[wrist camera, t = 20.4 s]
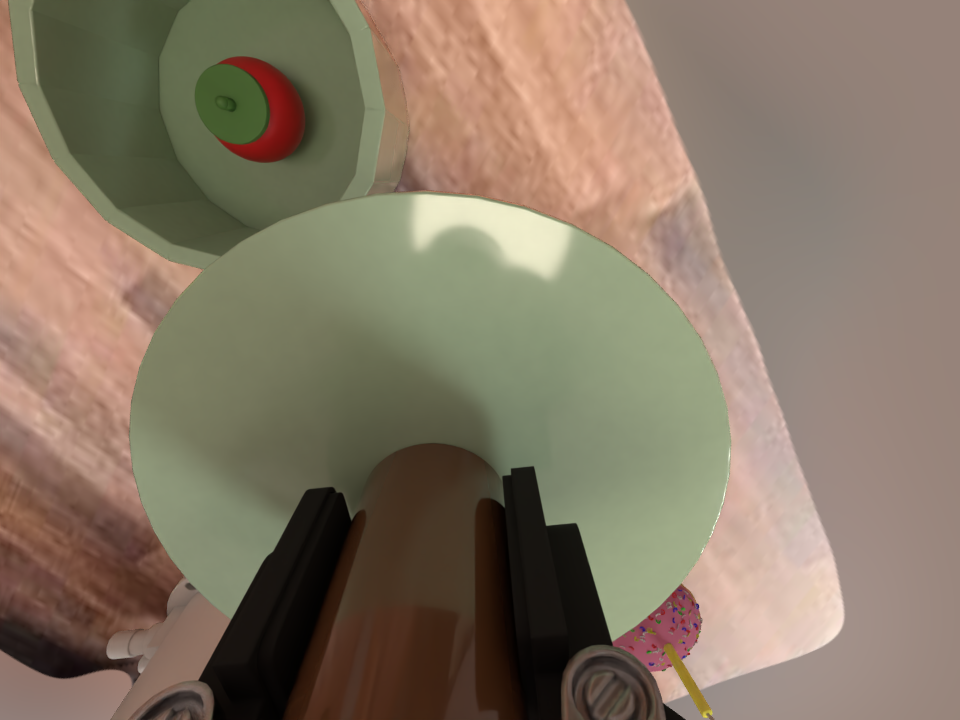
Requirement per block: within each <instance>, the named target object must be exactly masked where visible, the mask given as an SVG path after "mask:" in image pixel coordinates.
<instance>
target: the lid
mask: <svg viewBox="0 0 960 720" xmlns="http://www.w3.org/2000/svg"><path fill="white" fill-rule="evenodd" d="M129 441H130V451H131V461H132V470H133V474H134V477H135V481H136V485H137V489H138V492H139V496H140V500H141V503H142V505H143V507H144V510H145V512H146V514H147V517H148V519H149V521H150V523H151V526H152V528H153V530H154V532H155V534H156V535H157V537H158V539H159V540H160V542H161V544H162V545H163V547H164V549H165V550H166V552H167V554H168V555H169V557H170V558H171V560H172V561H173V562H174V564H175V565H176V566H177V567H178V569H179V570H180V571H181V572H182V574H183V575H184V576H185V577H186V579H187V580H188V581H189V582H190V584H192V585H193V586H194V587H195V588H196V589H197V590H198V591H199V592H200V593H201V594H202V595H203V596H204V597H205V598H206V599H207V600H208V601H209V602H210V603H211V604H212V605H213V606H214V607H215V608H216V609H218V610H219V611H220V612H222V613H223V614H224V615H225V616H227V617H228V618H229V619H230V620H231V619H232V617H233V616H234V614H235V612H236V610H237V608H238V606H239V605H240V603H241V601H242V599H243V597H244V595H245V594H246V592H247V590H248V588H249V586H250V584H251V583H252V581H253V579H254V577H255V575H256V574H257V572H258V570H259V568H260V566H261V564H262V563H263V561H264V560H265V558H266V557H267V556H268V555H269V554H270V553H272V552H273V551H274V549H275V547H276V545H277V543H278V541H279V539H280V538H281V536H282V534H283V532H284V530H285V528H286V526H287V524H288V523H289V521H290V519H291V517H292V515H293V513H294V511H295V510H296V508H297V506H298V504H299V502H300V500H301V498H302V496H303V495H304V493H305V492H306V490H308V489H313V488H323V487H334V488H335V490H336V492H342V493H343V495H344V497H345V501H346V504H347V507H348V511H349V514H350V518H351V521H352V522H351V525H350V527H349V530H348V533H347V536H346V539H345V542H344V544H343V547H342V550H341V553H340V556H339V558H338V561H337V564H336V567H335V570H334V573H333V575H332V578H331V581H330V584H329V587H328V589H327V592H326V595H325V598H324V601H323V603H322V606H321V609H320V612H319V615H318V618H317V620H316V623H315V626H314V629H313V632H312V634H311V637H310V640H309V643H308V646H307V649H306V651H305V654H304V657H303V660H302V663H301V665H300V668H299V671H298V674H297V677H296V680H295V682H294V685H293V688H292V691H291V694H290V696H289V699H288V702H287V705H286V708H285V710H284V713H283V716H282V719H281V720H529V712H528V702H527V697H526V693H525V690H524V688H523V686H522V679H521V671H520V663H519V655H518V646H517V637H516V627H515V617H514V605H513V594H512V583H511V571H510V560H509V549H508V538H507V526H506V515H505V504H504V493H503V481H502V476H505V475H511V468H520V467H530V466H534V468H535V473H536V478H537V483H538V488H539V493H540V498H541V503H542V508H543V513H544V518H545V523H546V526H549V525H559V524H569V523H576V524H577V525H578V528H579V531H580V534H581V538H582V541H583V544H584V548H585V551H586V555H587V558H588V561H589V565H590V568H591V572H592V575H593V578H594V582H595V585H596V589H597V592H598V596H599V599H600V602H601V606H602V609H603V613H604V616H605V619H606V623H607V626H608V630H609V633H610V637H611V640H612V642H613V641H615V640H616V639H618V638H619V637H621V636H622V635H624V634H625V633H627V632H628V631H630V630H631V629H633V628H634V627H636V626H637V625H638V624H639V623H641V622H642V621H643V620H644V619H645V618H647V617H648V616H649V615H650V614H651V613H653V612H654V611H655V610H656V609H657V608H658V607H660V606H661V605H662V604H663V602H664V601H665V600H666V599H667V598H668V597H669V596H670V595H671V594H672V593H673V592H674V591H675V590H676V589H677V588H678V587H679V585H680V584H681V583H682V582H683V580H684V579H685V578H686V576H687V575H688V573H689V572H690V571H691V569H692V568H693V567H694V565H695V564H696V562H697V561H698V560H699V558H700V556H701V554H702V552H703V550H704V548H705V547H706V545H707V543H708V541H709V539H710V537H711V536H712V534H713V531H714V528H715V526H716V523H717V520H718V518H719V515H720V512H721V509H722V507H723V504H724V499H725V494H726V489H727V484H728V479H729V475H730V456H731V435H730V427H729V418H728V410H727V404H726V401H725V397H724V394H723V391H722V387H721V384H720V380H719V377H718V373H717V371H716V369H715V366H714V364H713V362H712V360H711V358H710V356H709V354H708V352H707V350H706V348H705V345H704V343H703V341H702V339H701V337H700V336H699V334H698V333H697V332H696V330H695V329H694V327H693V326H692V324H691V323H690V321H689V320H688V319H687V317H686V316H685V314H684V313H683V311H682V310H681V309H680V307H679V306H678V304H677V303H676V302H675V301H674V300H673V299H672V298H671V297H670V296H669V295H668V294H667V293H666V292H665V291H664V290H663V289H662V288H661V287H660V286H659V285H658V284H657V282H656V281H655V280H654V279H653V278H652V277H651V276H650V275H649V274H648V273H646V272H645V271H644V270H642V269H641V268H640V267H638V266H637V265H636V264H635V263H633V262H632V261H631V260H629V259H628V258H627V257H625V256H624V255H623V254H622V253H620V252H619V251H618V250H616V249H615V248H614V247H612V246H610V245H609V244H607V243H605V242H603V241H601V240H600V239H598V238H596V237H594V236H592V235H591V234H589V233H587V232H585V231H583V230H582V229H580V228H578V227H576V226H575V225H573V224H571V223H569V222H566V221H564V220H561V219H559V218H556V217H553V216H551V215H548V214H546V213H543V212H540V211H538V210H535V209H532V208H530V207H527V206H525V205H520V204H516V203H512V202H507V201H503V200H499V199H494V198H490V197H486V196H481V195H476V194H465V193H453V192H442V191H430V190H426V191H407V192H388V193H377V194H372V195H367V196H362V197H357V198H351V199H346V200H341V201H336V202H331V203H326V204H324V205H321V206H318V207H315V208H312V209H310V210H307V211H304V212H301V213H298V214H296V215H293V216H290V217H287V218H284V219H281V220H280V221H278V222H276V223H274V224H272V225H270V226H268V227H266V228H265V229H263V230H261V231H259V232H257V233H255V234H253V235H252V236H250V237H248V238H246V239H244V240H242V241H240V242H239V243H238V244H236V245H235V246H234V247H233V248H231V249H230V250H229V251H227V252H226V253H225V254H223V255H222V256H221V257H219V258H218V259H217V260H215V261H214V262H213V263H212V264H210V265H209V266H208V267H206V268H205V269H204V270H203V271H202V272H201V273H200V274H199V275H198V277H197V278H196V279H195V280H194V281H193V282H192V283H191V284H190V285H189V286H188V287H187V288H186V289H185V290H184V291H183V292H182V294H181V295H180V296H179V297H178V298H177V299H176V300H175V302H174V304H173V305H172V307H171V308H170V310H169V311H168V313H167V314H166V316H165V317H164V319H163V320H162V322H161V323H160V325H159V326H158V328H157V329H156V331H155V333H154V335H153V337H152V339H151V342H150V344H149V346H148V349H147V351H146V353H145V356H144V358H143V360H142V362H141V365H140V367H139V371H138V375H137V379H136V384H135V388H134V392H133V396H132V400H131V412H130V428H129Z"/></svg>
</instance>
